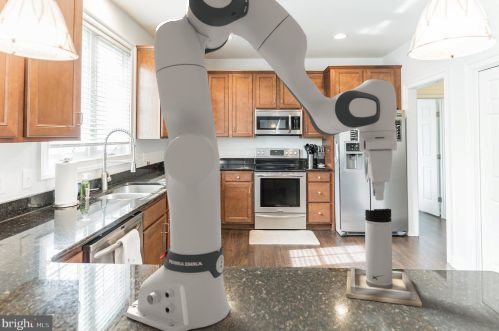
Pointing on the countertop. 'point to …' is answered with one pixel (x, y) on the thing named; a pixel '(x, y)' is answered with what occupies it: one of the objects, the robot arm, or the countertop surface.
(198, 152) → the robot arm
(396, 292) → the square metal tray
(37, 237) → the countertop surface
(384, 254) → the travel mug
